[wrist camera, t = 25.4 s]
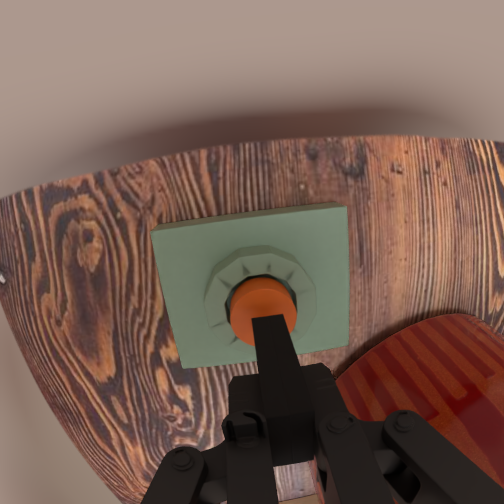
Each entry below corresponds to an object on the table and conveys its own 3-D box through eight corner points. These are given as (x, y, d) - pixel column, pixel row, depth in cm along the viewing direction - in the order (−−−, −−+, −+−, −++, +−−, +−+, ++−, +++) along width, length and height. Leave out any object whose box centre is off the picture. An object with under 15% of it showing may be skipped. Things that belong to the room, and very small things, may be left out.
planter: (478, 417, 30) (549, 511, 10) (323, 490, 31) (358, 618, 11) (495, 269, 23) (651, 369, 4) (271, 368, 24) (323, 624, 5)
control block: (185, 352, 23) (179, 384, 19) (157, 224, 20) (141, 238, 17) (339, 330, 24) (357, 359, 20) (336, 201, 21) (358, 210, 17)
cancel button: (234, 335, 19) (235, 351, 17) (225, 281, 18) (225, 293, 16) (293, 327, 19) (298, 342, 17) (288, 272, 18) (294, 284, 16)
